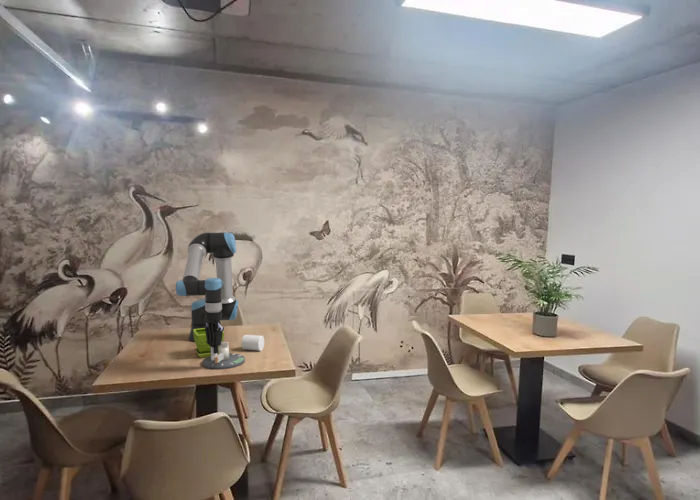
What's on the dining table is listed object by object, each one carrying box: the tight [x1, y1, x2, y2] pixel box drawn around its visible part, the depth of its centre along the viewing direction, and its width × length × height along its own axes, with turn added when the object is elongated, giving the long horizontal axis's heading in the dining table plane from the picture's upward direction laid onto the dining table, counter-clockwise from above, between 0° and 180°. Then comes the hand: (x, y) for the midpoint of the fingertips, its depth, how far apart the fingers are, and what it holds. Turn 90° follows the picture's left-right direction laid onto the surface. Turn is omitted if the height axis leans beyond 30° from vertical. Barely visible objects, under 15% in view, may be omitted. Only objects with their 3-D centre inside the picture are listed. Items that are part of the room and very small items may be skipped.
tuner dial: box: [202, 352, 246, 370], centre depth 217 cm, size 20×20×2 cm
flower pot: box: [193, 328, 225, 359], centre depth 231 cm, size 14×14×13 cm
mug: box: [240, 334, 265, 352], centre depth 241 cm, size 12×10×8 cm
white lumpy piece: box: [215, 341, 230, 363], centre depth 214 cm, size 12×5×8 cm, turn 174°
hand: (214, 359), depth 210 cm, fingers closed
